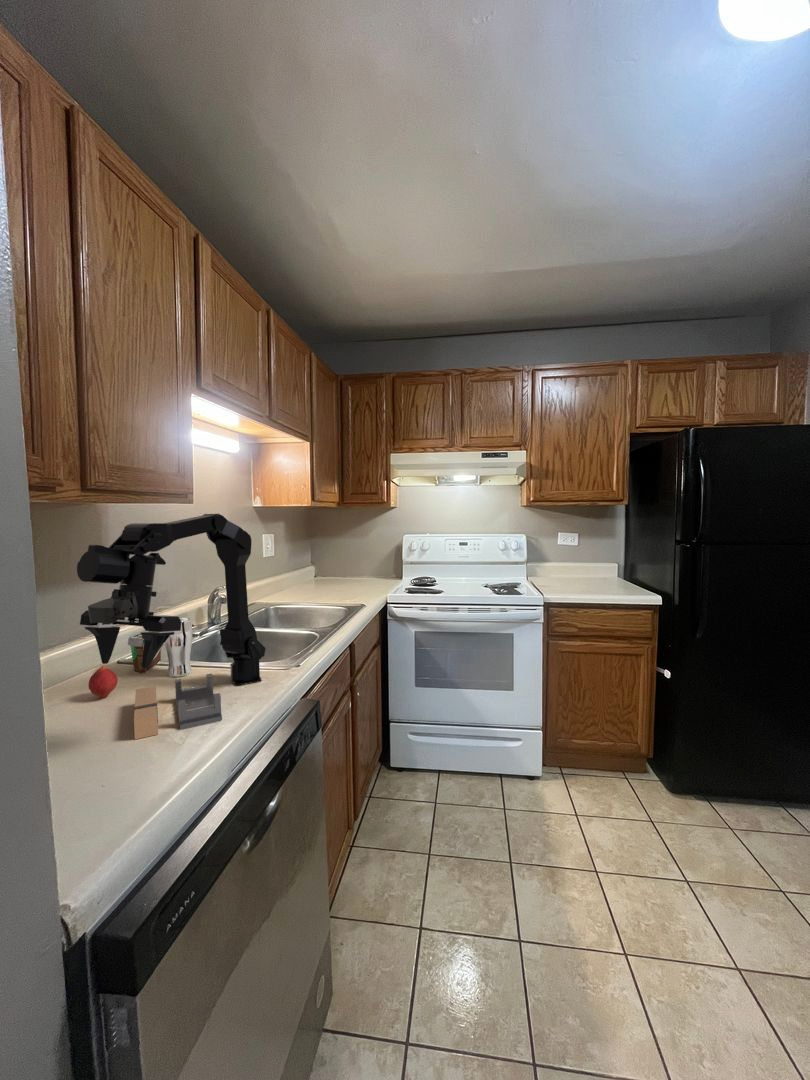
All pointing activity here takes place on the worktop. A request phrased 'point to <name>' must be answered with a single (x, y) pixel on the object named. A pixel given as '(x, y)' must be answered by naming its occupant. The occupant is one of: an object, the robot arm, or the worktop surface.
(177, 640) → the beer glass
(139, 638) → the food container
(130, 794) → the worktop surface
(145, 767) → the worktop surface
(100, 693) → the onion
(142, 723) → the banded tan post
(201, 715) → the collar stand
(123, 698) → the worktop surface
